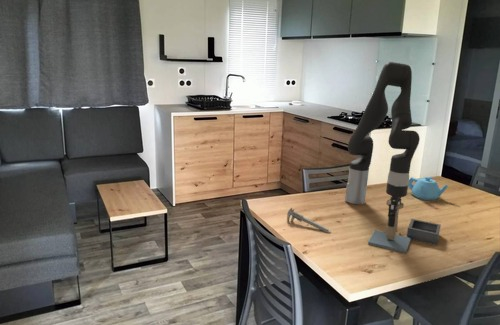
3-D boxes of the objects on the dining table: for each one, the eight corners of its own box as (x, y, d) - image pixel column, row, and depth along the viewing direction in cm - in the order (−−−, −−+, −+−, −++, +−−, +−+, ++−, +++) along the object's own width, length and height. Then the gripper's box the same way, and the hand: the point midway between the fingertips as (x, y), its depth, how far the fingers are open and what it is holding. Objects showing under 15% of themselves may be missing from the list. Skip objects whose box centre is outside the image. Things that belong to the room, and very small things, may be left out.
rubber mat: (368, 244, 157) (368, 241, 157) (374, 232, 169) (375, 229, 168) (406, 253, 151) (406, 250, 151) (410, 240, 162) (410, 237, 162)
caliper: (286, 221, 177) (287, 207, 176) (288, 220, 178) (288, 206, 176) (330, 233, 166) (331, 219, 164) (331, 233, 167) (332, 218, 165)
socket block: (406, 238, 164) (407, 228, 163) (410, 228, 174) (411, 218, 172) (437, 245, 159) (438, 234, 158) (439, 234, 169) (440, 224, 167)
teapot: (429, 191, 224) (432, 172, 221) (447, 201, 210) (450, 181, 207) (404, 192, 221) (407, 173, 219) (420, 201, 207) (423, 181, 204)
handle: (393, 243, 156) (398, 206, 152) (379, 236, 161) (384, 201, 157) (400, 240, 158) (406, 204, 154) (387, 234, 164) (392, 199, 160)
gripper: (390, 176, 161) (385, 216, 166) (384, 185, 149) (378, 228, 154) (410, 179, 158) (404, 220, 162) (405, 189, 146) (399, 233, 150)
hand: (392, 224), depth 158 cm, fingers open, 4 cm apart
